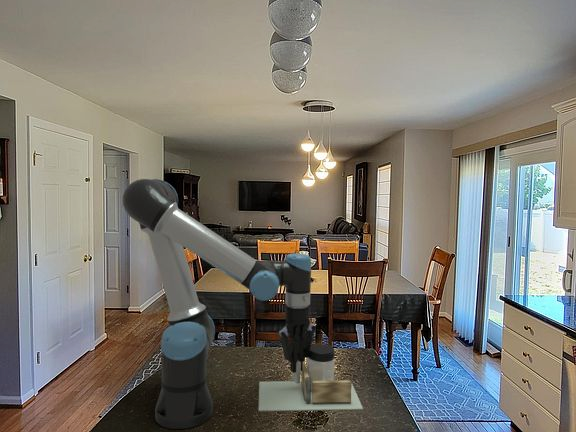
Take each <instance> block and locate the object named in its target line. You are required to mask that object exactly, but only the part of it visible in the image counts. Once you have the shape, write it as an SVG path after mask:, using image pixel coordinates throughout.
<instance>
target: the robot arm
mask: <svg viewBox="0 0 576 432" xmlns="http://www.w3.org/2000/svg"><path fill="white" fill-rule="evenodd" d="M178 196H179V195H178V193H177V191H176V189H175V188H174V187H173V186H172V185H171V184H170V183H168V182H167V181H165V180H162V179H157V178H154V179H152V178H151V179H149V178H142V179H141V178H140V179H137V180H135V181H133V182H131V183H130V184H129V185H127V187H126V188H125V190H124V191H123V193H122V207H123V209H124V211H125V213H126V214H127V215H128V216H129V217H130V218H132V219H133V220H134V221H136V222H137V223H138V224H139V227H140V229H141V231H142V232H144V233H145V234H147V236H148V239H149V243H150V246H151V249H152V251H153V255H154V260H155V263H156V266H157V269H158V273H159V275H160V280H161V283H162V287H163V289H164V293H165V297H166V300H167V304H168V308H169V311H170V313H169V314H168V316H167V318H166V319H167V323H168V327H167V328H166V329H165V330H164V331H163V333H162V335H161V340H160V350H161V389H160V392H159V396H158V399H157V401H156V404H155V408H154V409H155V410H154V414H155V415H154V417H155V422H156V423H157V424H158V425H160V426H161V427H164V428H167V429H170V430H171V429H172V430H184V429H190V428H191V429H192V428H194V427H197V426H200V425H202V424H204V423H205V422H207V421H208V420H209V419H210V418H211V417H212V415H213V410H214V403H213V398H212V396H211V392H210V390H209V388H208V387H209V386H208V384H207V357H208V354H209V351H210V349H211V346H212V343H213V342H214V339H215V335H216V329H215V328H216V327H215V324H214V323H215V322H214V321H213V319H212V317H211V316H210V315H209V313H208V310H207V306H206V305H205V304H203V303H201V302H200V301H199V297H198V295H197V290H196V287H195V284H194V283H195V282H194V280H193V277H192V276H193V275H192V273H191V270H190V266H189V262H188V259H187V256H186V252H185V249H187V250H188V251H190V252H192V253H193V254H194V255H196V256H197V257H199V258H200V259H202V260H203V261H205V262H206V263H208V264H209V265H211V266H212V267H214V268H216V269H217V270H219V271H220V272H222V273H223V274H225V275H226V276H228V277H230V278H231V279H232V280H234V281H236V282H238V284H240V285H242V286H243V287H244V288H246V289H248V290H249V291H250V293H251V294H252V296H253V297H254V298H255V299H256V300H258V301H262V302H263V301H269V300H272V299H273V298H275V297H276V296H277V294H278V291H279V287H285V301H284V303H285V307H284V313H285V314H284V318H285V322H284V326H283V328H282V329H279V330H277V335H278V336H279V337H280V341H281V342H280V343H281V347H282V352H283V357H284V359H285V360H286V361H288V362H289V366H290V369H289V370H290V372H291V381H294V382H295V383H296V384H298V383H300V381H301V371H302V368H303V366H302V365H303V364H304V362H305V361H306V359H307V357H308V348H310V347H311V345H312V343H313V337H314V335H315V334H314V333H315V332H316V330H317V326H316V325H314V324H311V321H310V318H311V306H310V305H311V288H312V287H311V285H312V282H311V281H312V280H311V279H312V260H311V257H310V255H309V254H306V253H300V252H299V253H296V252H295V253H289V254H286V256H285V257H286V258H285V259H284V260H261V259H255V258H254V257H252V256H251V255H249V254H248V253H246V252H245V251H243V250H241V249H240V248H238V247H237V246H235V245H234V244H232V243H231V242H230V241H228V240H226V239H225V238H224V237H222V236H221V235H219V234H218V233H216V232H215V231H213V230H212V229H210V228H208V227H207V226H206V225H204V224H203V223H201V222H199V221H197V219H195V218H193V217H192V216H190V215H189V214H188V213H186V212H185V211H182V210H181V209H180V208H179V206H178V205H179V197H178Z"/></svg>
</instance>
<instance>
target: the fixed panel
mask: <svg viewBox="0 0 576 432" xmlns="http://www.w3.org/2000/svg"><path fill="white" fill-rule="evenodd" d="M351 382H352V381H351V380H346V379H345V380H334V381H312V402H313V403H324V402H351V387H352V385H353V383H352V384H351Z"/></svg>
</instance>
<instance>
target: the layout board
mask: <svg viewBox="0 0 576 432" xmlns="http://www.w3.org/2000/svg"><path fill="white" fill-rule="evenodd" d="M258 383H259V385H258V387H259V389H258V391H259V392H258V412H298V411H301V412H304V411H306V412H307V411H360V410H361V411H362V410H364V407H363V405H362V403H361V401H360V399H359V396H358V394H357V391H356V389H355V387H354V385H353V382H352V381H351V384H352V387H351V402H324V403H313V402H312V391H311V403H310V404H306V399H305V395H304V391H303V387H302V383H301V380H300V383H298V384H296V383H295V382H294V381H292V380H287V381H286V380H285V381H282V380H281V381H277V380H275V381H259V382H258Z"/></svg>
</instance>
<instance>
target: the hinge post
mask: <svg viewBox="0 0 576 432" xmlns="http://www.w3.org/2000/svg"><path fill="white" fill-rule="evenodd" d="M310 403H311V378H310V377H307V378H306V404H310Z"/></svg>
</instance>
